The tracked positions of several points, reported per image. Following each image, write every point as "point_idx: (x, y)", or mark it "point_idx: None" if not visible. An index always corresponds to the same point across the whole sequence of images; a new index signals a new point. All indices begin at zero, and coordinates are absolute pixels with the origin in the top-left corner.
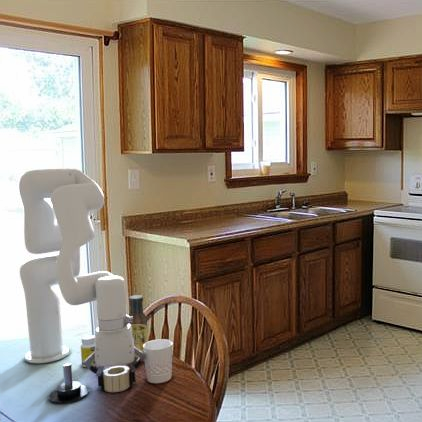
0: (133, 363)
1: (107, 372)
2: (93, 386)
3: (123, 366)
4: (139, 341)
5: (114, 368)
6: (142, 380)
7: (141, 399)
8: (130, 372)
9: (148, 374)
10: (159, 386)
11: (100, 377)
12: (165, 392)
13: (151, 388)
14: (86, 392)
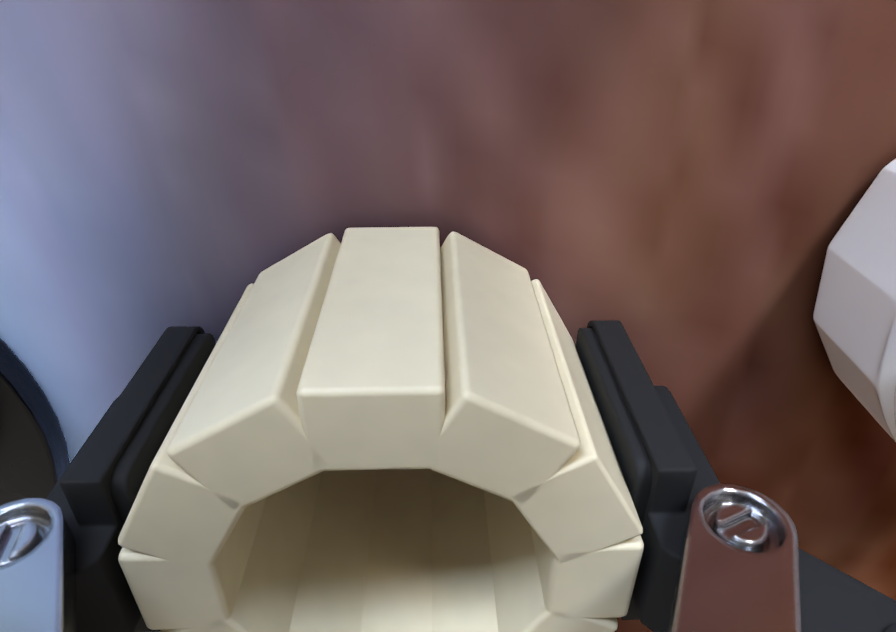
0: (774, 616)
1: (226, 614)
2: (28, 257)
3: (526, 464)
4: None
5: (324, 467)
6: (751, 249)
7: (644, 628)
8: (634, 607)
9: (889, 423)
10: (888, 458)
11: (141, 618)
12: (884, 572)
13: (790, 479)
14: (34, 479)
